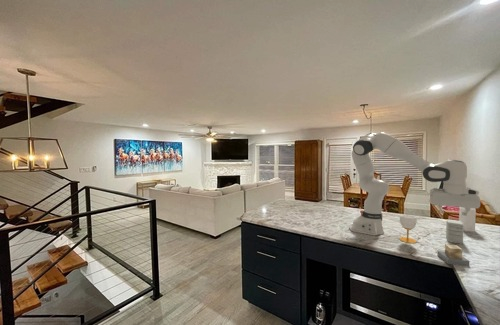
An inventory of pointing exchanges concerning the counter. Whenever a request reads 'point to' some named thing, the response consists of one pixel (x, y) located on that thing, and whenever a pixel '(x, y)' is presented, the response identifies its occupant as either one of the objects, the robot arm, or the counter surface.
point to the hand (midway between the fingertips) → (452, 214)
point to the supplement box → (454, 231)
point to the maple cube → (453, 251)
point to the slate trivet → (453, 259)
